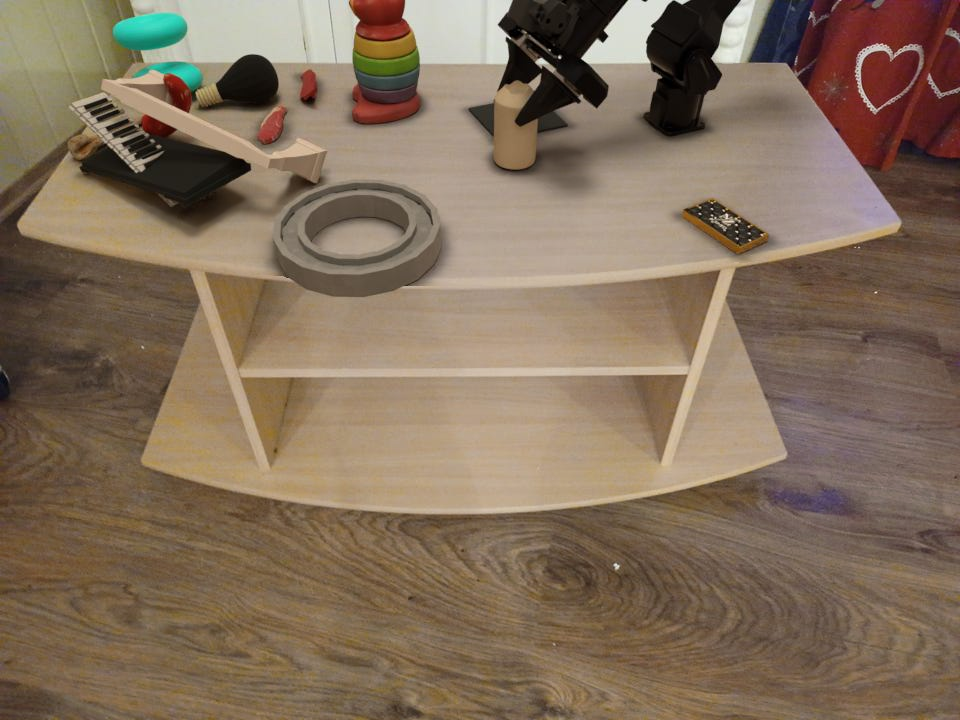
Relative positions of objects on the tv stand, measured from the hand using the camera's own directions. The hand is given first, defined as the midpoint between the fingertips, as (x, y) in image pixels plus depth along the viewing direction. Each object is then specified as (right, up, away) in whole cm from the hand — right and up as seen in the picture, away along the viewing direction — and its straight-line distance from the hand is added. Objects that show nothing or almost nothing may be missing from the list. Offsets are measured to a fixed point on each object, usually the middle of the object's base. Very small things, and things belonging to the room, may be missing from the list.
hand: (506, 114), depth 91 cm
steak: (-30, +2, +11) cm, 32 cm away
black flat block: (+23, -16, -6) cm, 29 cm away
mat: (+2, +4, +14) cm, 15 cm away
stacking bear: (-17, +6, +16) cm, 24 cm away
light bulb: (-38, +7, +17) cm, 42 cm away
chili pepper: (-29, +11, +18) cm, 36 cm away
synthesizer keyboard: (-41, -4, -6) cm, 42 cm away
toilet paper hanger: (-37, -4, -2) cm, 37 cm away
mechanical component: (-17, -18, -8) cm, 26 cm away
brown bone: (-53, +2, +9) cm, 54 cm away
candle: (+1, -4, +5) cm, 7 cm away
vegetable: (-49, 0, +8) cm, 49 cm away
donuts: (-45, +15, +16) cm, 51 cm away
